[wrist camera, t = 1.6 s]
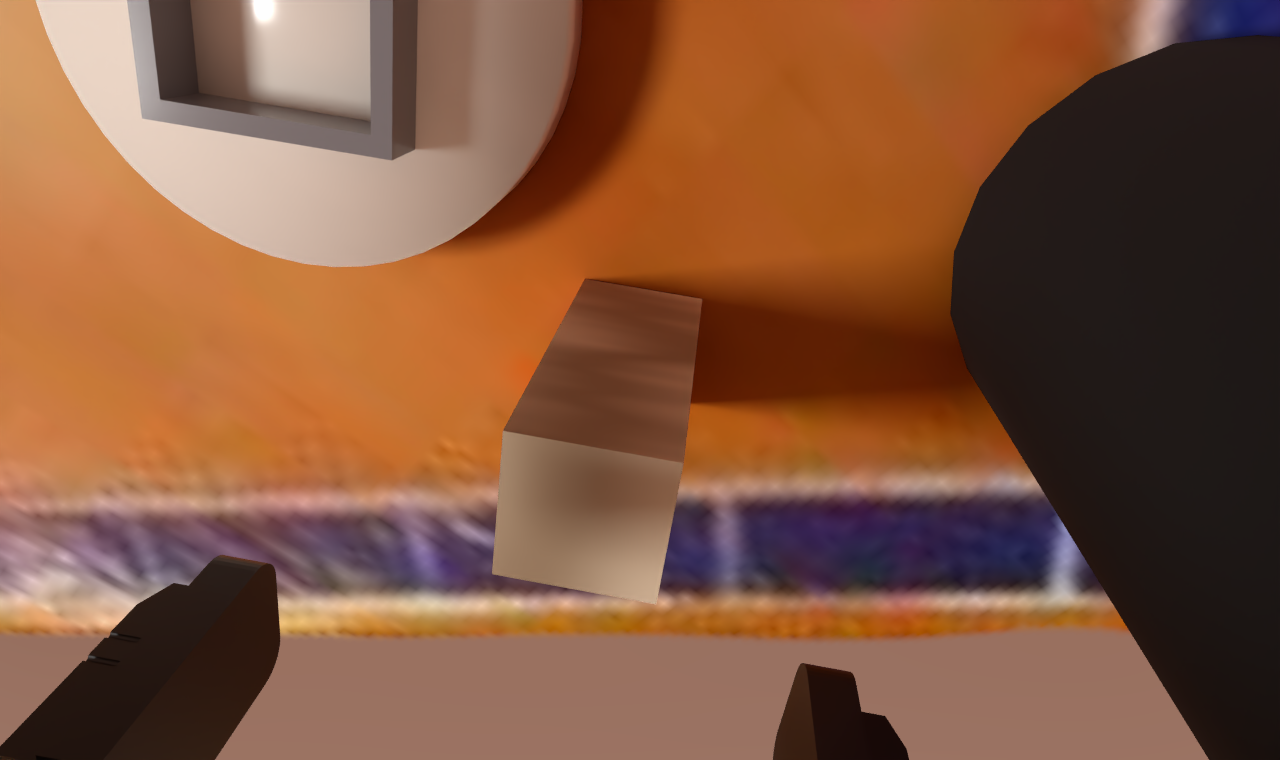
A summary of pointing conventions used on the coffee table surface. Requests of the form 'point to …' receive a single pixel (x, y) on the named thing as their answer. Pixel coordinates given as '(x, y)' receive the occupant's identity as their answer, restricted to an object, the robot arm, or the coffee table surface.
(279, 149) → the candle dish
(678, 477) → the wood grain block
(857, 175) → the coffee table surface
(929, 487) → the coffee table surface
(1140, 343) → the coffee jar
